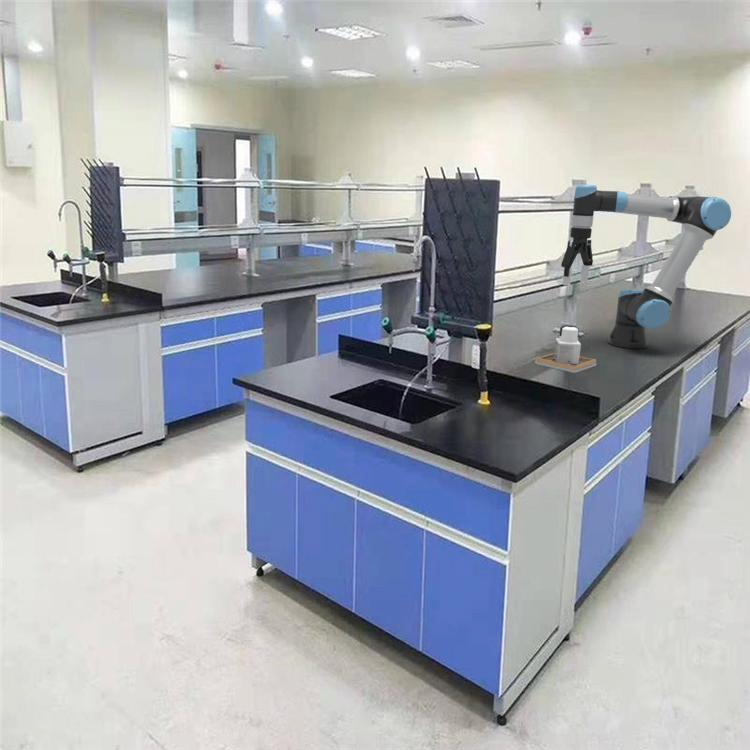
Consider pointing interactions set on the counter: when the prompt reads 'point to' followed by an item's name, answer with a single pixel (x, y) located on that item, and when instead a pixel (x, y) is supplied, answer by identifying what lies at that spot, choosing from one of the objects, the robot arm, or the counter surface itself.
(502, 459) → the counter surface
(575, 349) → the container
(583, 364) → the wooden square frame
